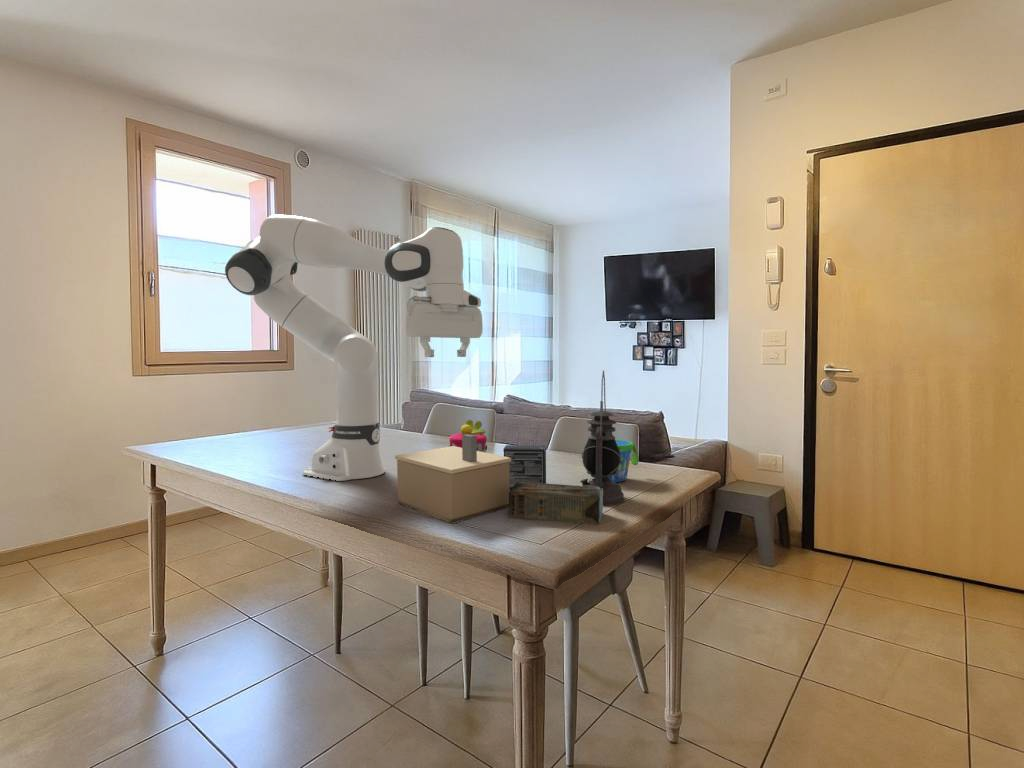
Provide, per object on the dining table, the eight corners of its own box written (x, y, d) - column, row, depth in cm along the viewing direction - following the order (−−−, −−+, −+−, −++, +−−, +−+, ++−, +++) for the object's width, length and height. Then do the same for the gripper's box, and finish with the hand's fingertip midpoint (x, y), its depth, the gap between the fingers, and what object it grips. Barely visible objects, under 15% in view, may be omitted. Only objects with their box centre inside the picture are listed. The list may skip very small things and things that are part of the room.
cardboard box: (397, 503, 123) (397, 459, 122) (453, 490, 134) (453, 450, 133) (452, 523, 108) (451, 474, 108) (509, 506, 120) (509, 462, 119)
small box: (546, 484, 139) (546, 444, 139) (545, 491, 133) (545, 449, 132) (506, 483, 140) (505, 443, 140) (503, 490, 134) (502, 448, 133)
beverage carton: (600, 526, 107) (600, 493, 107) (507, 520, 112) (506, 488, 111) (603, 514, 115) (603, 483, 114) (515, 508, 119) (515, 479, 119)
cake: (485, 479, 145) (485, 424, 144) (446, 479, 145) (445, 424, 144) (488, 470, 155) (488, 418, 154) (452, 470, 156) (451, 418, 155)
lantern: (582, 490, 133) (582, 369, 131) (626, 493, 130) (627, 369, 128) (574, 504, 121) (575, 371, 119) (623, 508, 118) (624, 371, 116)
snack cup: (627, 473, 151) (627, 437, 151) (648, 481, 141) (649, 443, 141) (577, 477, 146) (577, 440, 145) (595, 487, 136) (595, 447, 136)
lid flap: (395, 459, 122) (394, 431, 122) (453, 449, 134) (453, 423, 133) (451, 473, 107) (450, 442, 107) (511, 461, 119) (511, 433, 118)
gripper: (415, 293, 118) (416, 357, 118) (486, 300, 132) (486, 356, 132) (399, 296, 122) (400, 357, 123) (469, 302, 136) (470, 356, 137)
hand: (445, 357), depth 128 cm, fingers open, 8 cm apart
